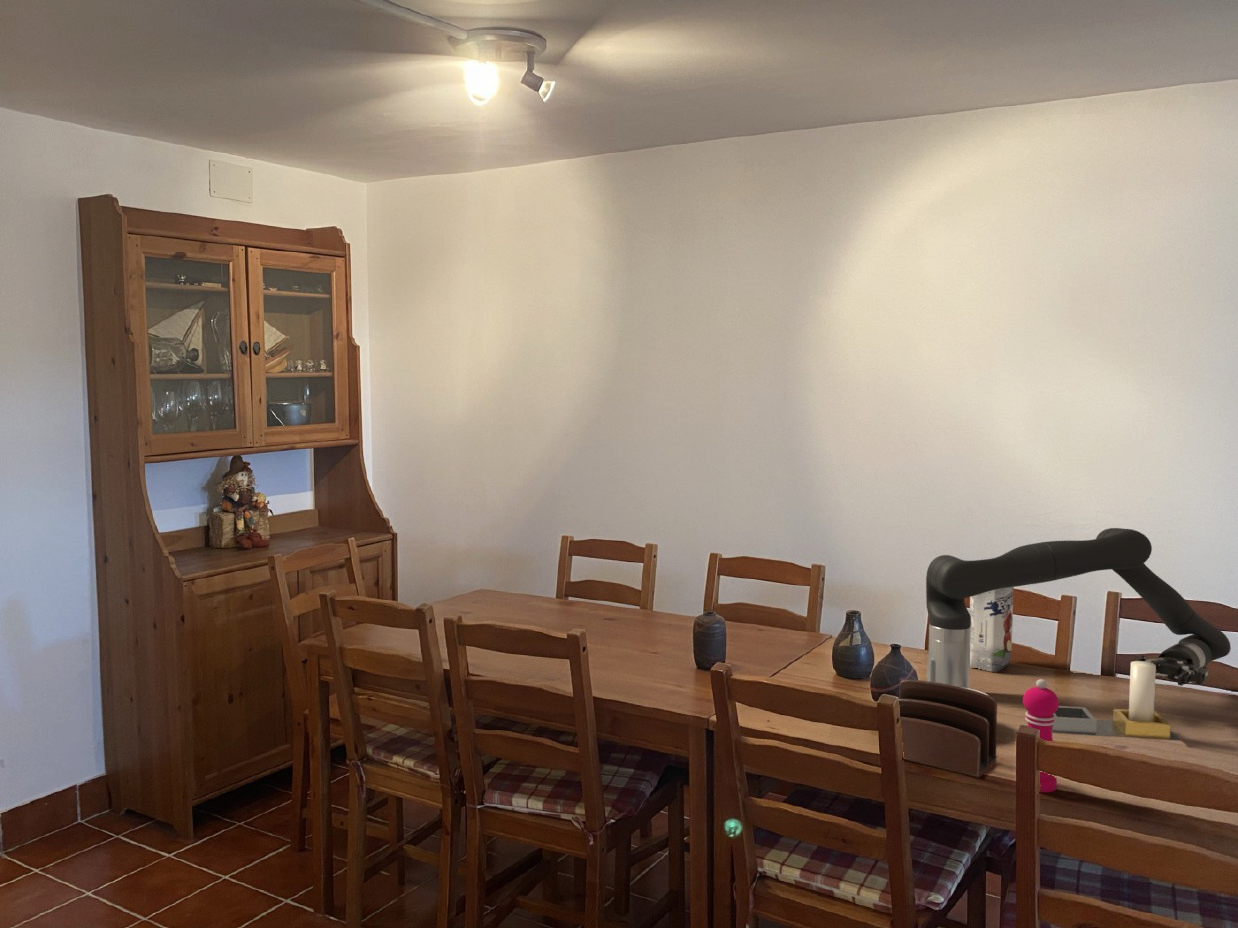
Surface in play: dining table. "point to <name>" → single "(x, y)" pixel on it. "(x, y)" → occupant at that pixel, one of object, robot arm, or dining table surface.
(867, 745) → the dining table surface
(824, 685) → the dining table surface
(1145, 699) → the cream peg
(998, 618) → the juice carton
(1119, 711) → the peg insertion base
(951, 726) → the letter holder
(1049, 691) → the pepper mill
